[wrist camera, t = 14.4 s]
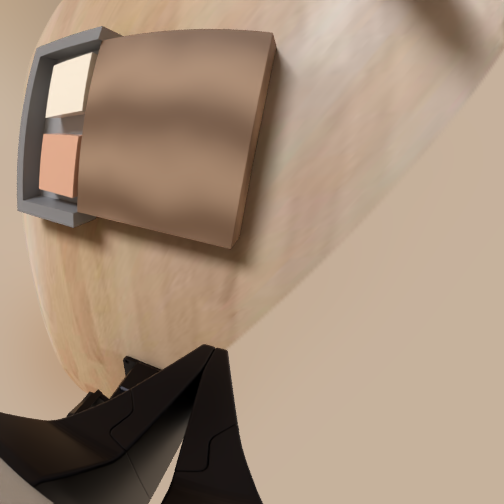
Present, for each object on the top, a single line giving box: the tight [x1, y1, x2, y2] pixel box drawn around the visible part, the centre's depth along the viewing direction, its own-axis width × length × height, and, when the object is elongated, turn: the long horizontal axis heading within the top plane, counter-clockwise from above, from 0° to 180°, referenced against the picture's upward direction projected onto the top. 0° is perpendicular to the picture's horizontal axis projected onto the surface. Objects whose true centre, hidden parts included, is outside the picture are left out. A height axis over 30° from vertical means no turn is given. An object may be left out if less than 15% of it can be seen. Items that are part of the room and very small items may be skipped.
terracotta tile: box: [39, 133, 82, 198], centre depth 19 cm, size 5×5×2 cm
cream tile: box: [46, 53, 98, 118], centre depth 16 cm, size 5×5×2 cm
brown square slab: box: [77, 29, 276, 249], centre depth 17 cm, size 14×13×2 cm
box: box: [17, 26, 123, 228], centre depth 18 cm, size 16×9×3 cm, turn 170°
